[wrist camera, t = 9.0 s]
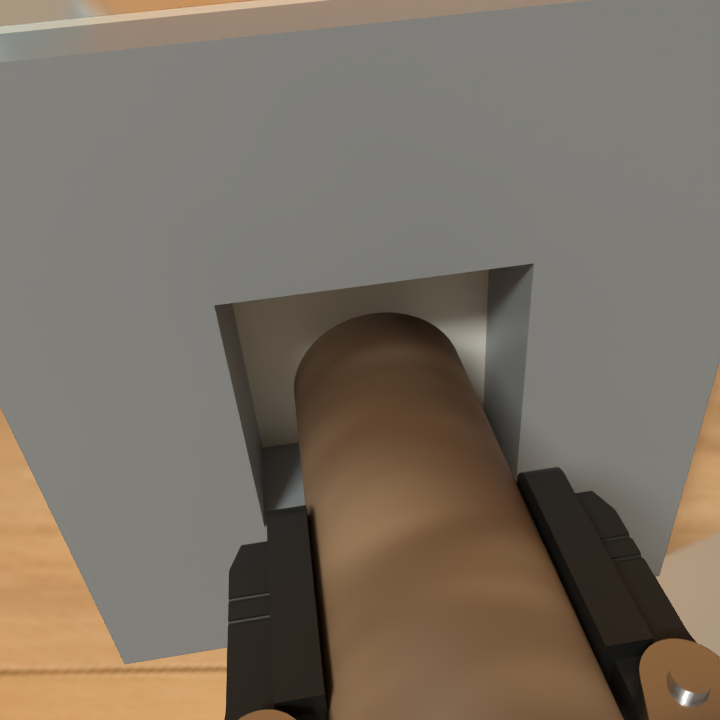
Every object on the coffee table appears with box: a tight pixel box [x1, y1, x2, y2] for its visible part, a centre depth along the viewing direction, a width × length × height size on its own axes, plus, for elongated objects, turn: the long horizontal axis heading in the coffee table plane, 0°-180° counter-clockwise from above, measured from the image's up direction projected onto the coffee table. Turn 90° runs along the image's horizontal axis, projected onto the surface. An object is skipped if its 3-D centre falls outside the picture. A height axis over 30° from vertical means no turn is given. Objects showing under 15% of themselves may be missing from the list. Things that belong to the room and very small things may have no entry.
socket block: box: [0, 0, 720, 664], centre depth 17 cm, size 16×16×4 cm
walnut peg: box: [294, 312, 624, 720], centre depth 11 cm, size 4×4×12 cm
